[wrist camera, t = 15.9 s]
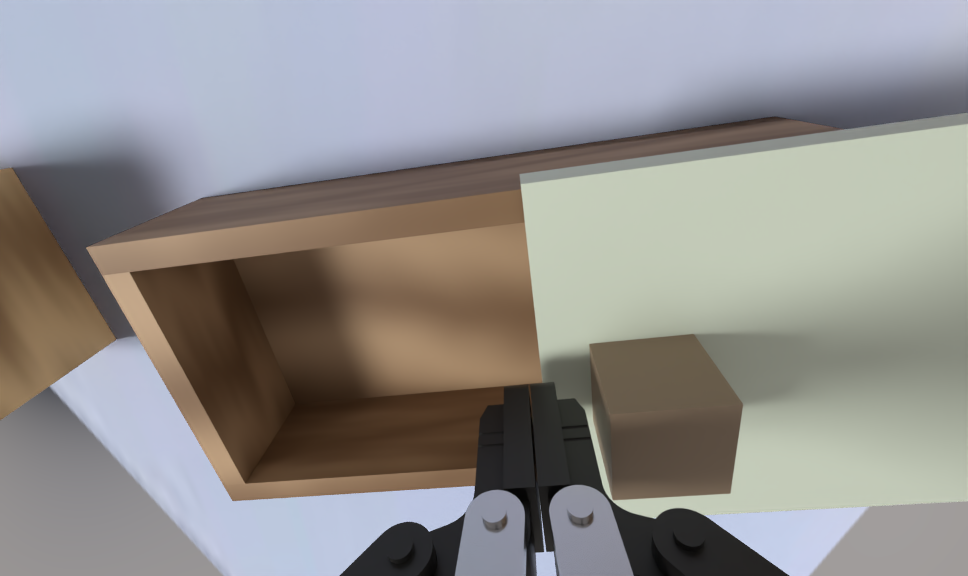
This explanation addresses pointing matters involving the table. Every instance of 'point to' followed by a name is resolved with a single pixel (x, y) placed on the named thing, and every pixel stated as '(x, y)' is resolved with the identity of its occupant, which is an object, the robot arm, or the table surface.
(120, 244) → the wooden box
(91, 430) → the table surface
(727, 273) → the lid
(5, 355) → the key
